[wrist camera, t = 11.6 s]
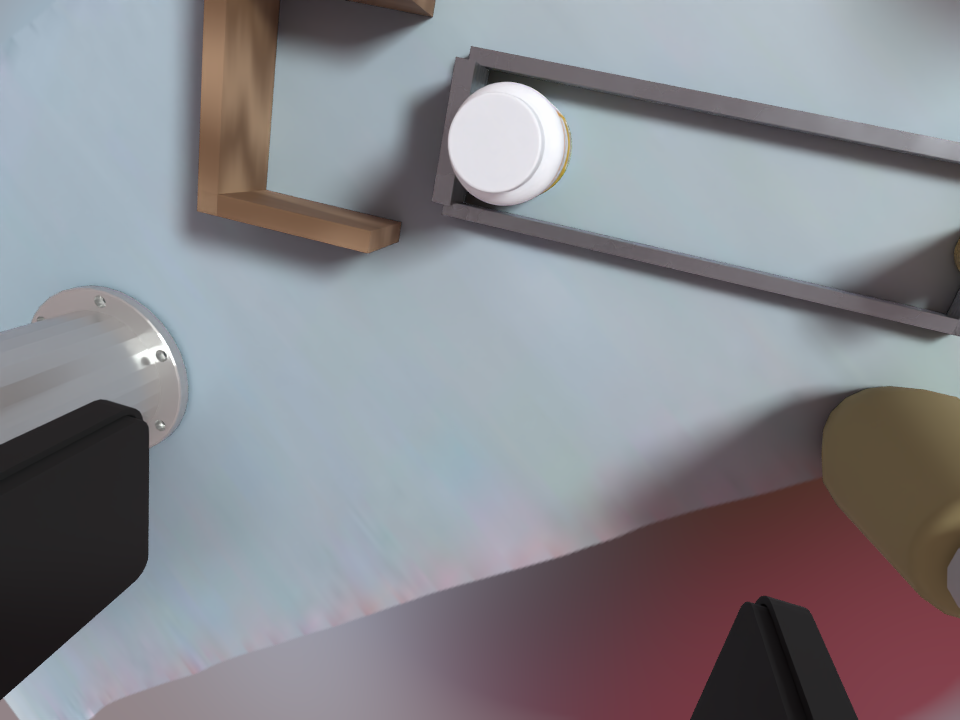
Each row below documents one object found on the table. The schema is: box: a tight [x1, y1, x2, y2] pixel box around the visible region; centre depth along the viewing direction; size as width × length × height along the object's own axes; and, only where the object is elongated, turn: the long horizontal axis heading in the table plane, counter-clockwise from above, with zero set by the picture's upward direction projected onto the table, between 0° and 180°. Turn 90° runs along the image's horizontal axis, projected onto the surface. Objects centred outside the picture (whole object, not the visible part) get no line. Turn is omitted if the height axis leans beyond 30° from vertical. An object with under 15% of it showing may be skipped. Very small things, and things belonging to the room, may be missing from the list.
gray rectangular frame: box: [432, 46, 960, 336], centre depth 29 cm, size 9×30×7 cm, turn 79°
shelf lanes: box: [197, 0, 435, 253], centre depth 32 cm, size 21×10×5 cm, turn 169°
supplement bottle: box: [448, 82, 572, 206], centre depth 29 cm, size 5×5×10 cm
